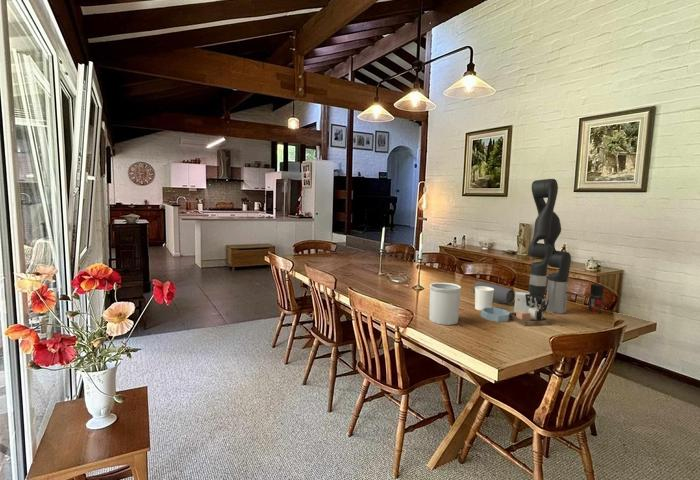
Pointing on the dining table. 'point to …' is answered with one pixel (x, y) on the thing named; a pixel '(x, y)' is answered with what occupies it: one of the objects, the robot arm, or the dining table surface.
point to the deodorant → (596, 298)
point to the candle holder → (483, 297)
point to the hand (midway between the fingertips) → (535, 317)
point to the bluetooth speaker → (498, 292)
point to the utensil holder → (444, 303)
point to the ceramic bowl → (495, 314)
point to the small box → (520, 302)
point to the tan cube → (523, 315)
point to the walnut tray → (532, 321)
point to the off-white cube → (533, 312)
